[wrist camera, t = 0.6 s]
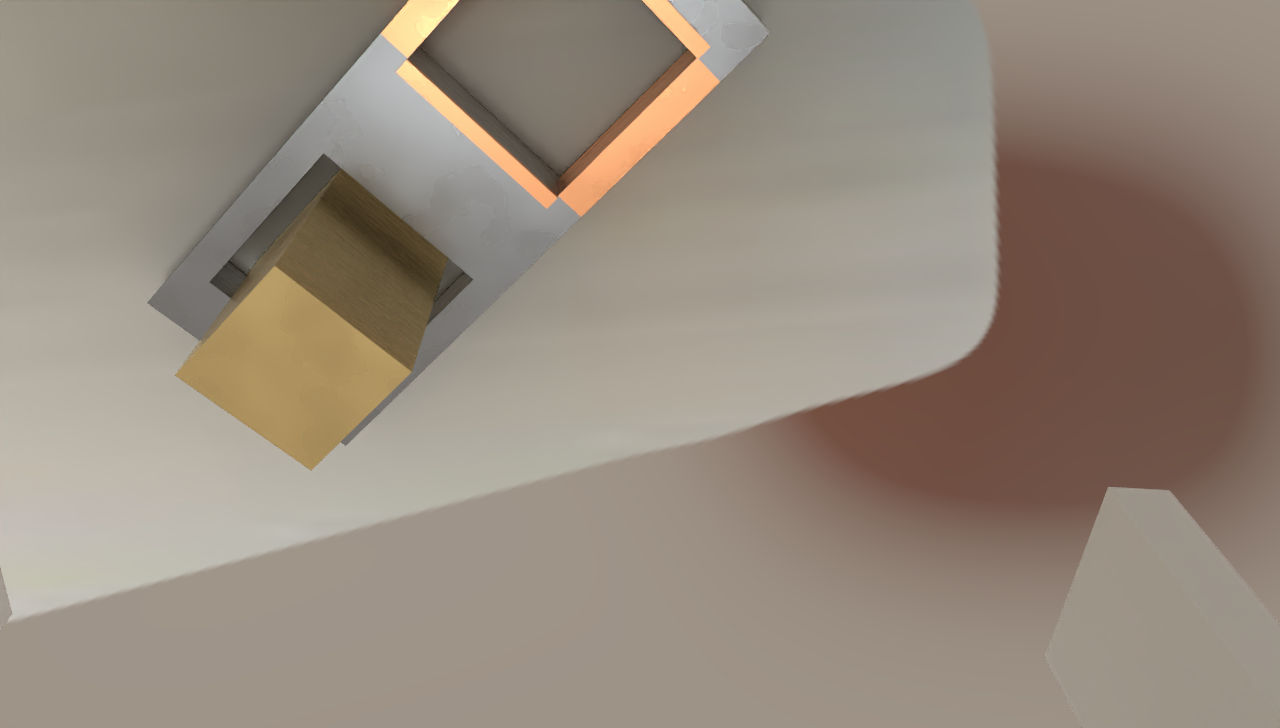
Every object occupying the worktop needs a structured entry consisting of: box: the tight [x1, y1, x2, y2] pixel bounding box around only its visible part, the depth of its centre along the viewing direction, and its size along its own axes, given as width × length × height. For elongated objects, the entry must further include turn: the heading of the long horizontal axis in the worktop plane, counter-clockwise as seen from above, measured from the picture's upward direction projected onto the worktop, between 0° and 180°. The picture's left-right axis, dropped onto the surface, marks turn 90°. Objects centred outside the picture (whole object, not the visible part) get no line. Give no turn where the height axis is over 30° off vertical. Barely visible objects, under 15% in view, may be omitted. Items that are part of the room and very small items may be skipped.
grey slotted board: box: [147, 0, 770, 446], centre depth 33 cm, size 8×20×2 cm, turn 135°
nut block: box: [175, 168, 448, 470], centre depth 32 cm, size 4×4×8 cm
